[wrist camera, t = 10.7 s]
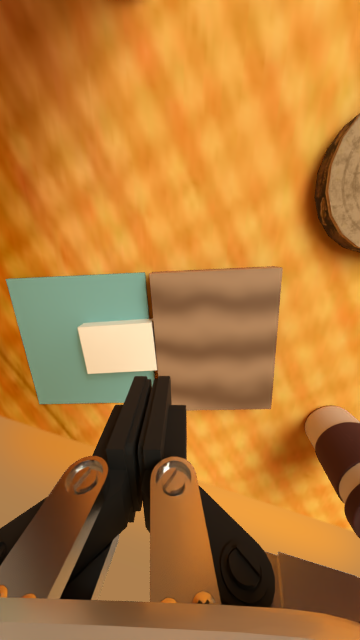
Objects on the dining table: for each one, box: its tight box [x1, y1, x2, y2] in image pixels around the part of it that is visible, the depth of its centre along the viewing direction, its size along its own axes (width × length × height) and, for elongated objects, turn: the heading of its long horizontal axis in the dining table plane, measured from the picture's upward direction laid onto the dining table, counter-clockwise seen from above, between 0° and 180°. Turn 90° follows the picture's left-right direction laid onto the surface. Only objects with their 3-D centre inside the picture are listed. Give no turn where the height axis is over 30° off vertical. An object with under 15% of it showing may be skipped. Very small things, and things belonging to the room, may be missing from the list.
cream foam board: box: [78, 318, 158, 374], centre depth 32 cm, size 7×10×2 cm
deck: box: [149, 266, 282, 410], centre depth 31 cm, size 20×16×2 cm
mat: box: [6, 272, 155, 404], centre depth 33 cm, size 20×19×1 cm
